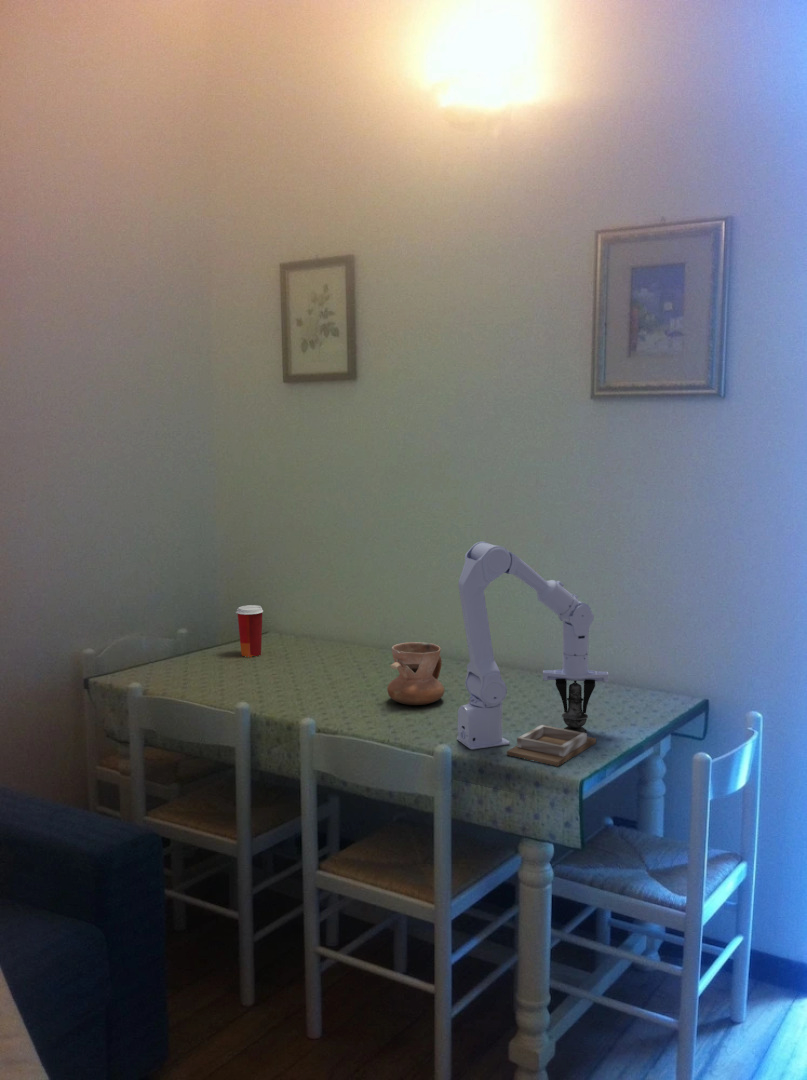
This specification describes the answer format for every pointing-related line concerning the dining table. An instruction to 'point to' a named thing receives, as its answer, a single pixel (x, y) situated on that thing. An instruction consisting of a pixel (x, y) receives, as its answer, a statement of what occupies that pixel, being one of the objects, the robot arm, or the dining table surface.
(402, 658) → the ceramic jug
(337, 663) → the dining table surface
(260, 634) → the coffee cup
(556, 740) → the board
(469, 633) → the robot arm
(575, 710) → the salt shaker
